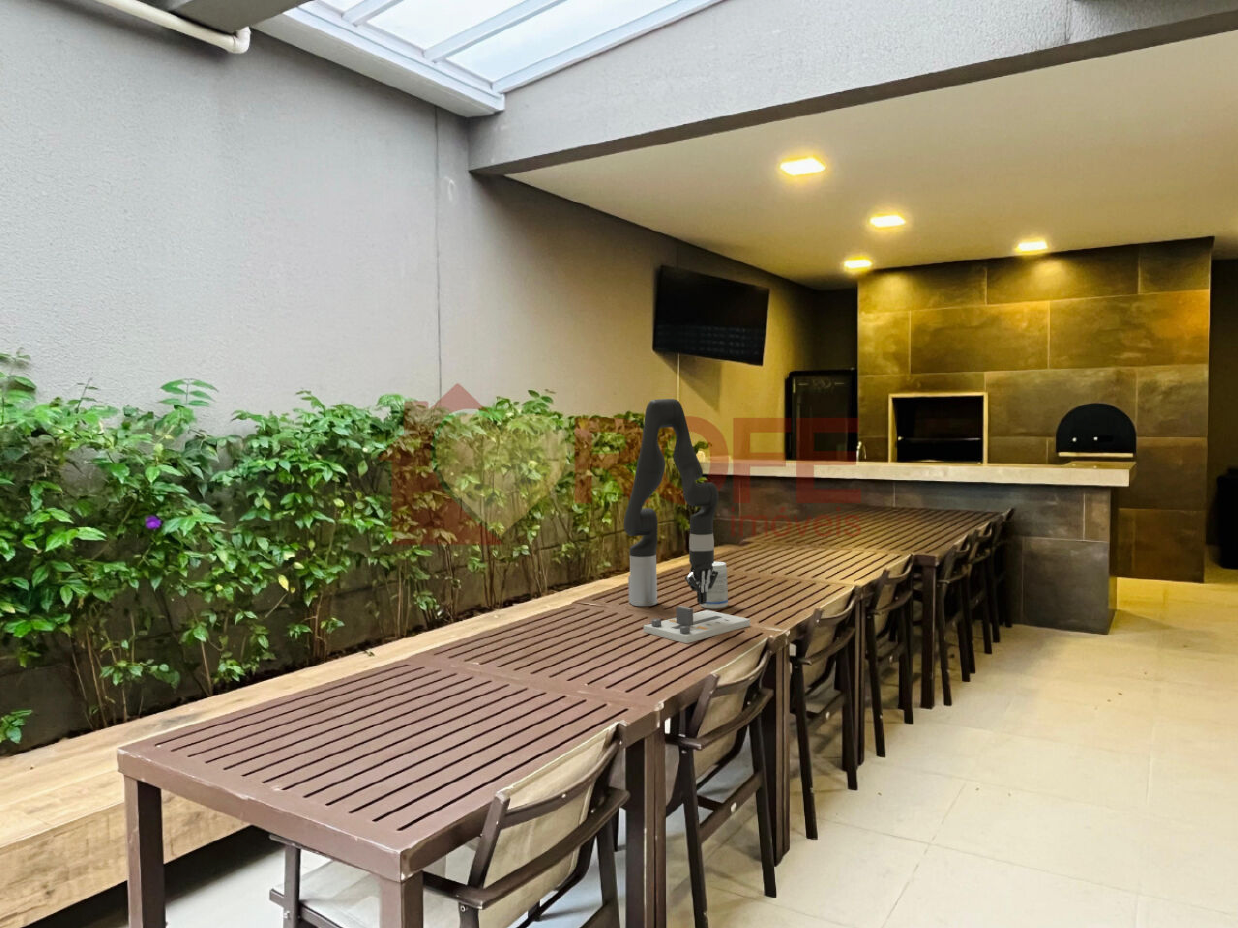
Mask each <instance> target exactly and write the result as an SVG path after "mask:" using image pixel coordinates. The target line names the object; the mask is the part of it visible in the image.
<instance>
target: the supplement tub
mask: <svg viewBox="0 0 1238 928" xmlns="http://www.w3.org/2000/svg"><path fill="white" fill-rule="evenodd" d="M712 566H713V570H714V571H717V572H718V575H717V577H716V580H715V582H714V584H713V586H712V588H711V589H708V591H707V601H706V604H699V605H700V606H701V607H702V608H704V609H710V610H711V609H713V610H717V609H724V608H726V607H727V606H728V605H729V597H728V596H729V595H728V594H729V593H728V588H729V587H728V569H727V563H726V562H725V561H714V563H713V564H712ZM709 583H710V582H709ZM699 588H700V585H699Z"/></svg>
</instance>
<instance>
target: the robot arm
mask: <svg viewBox="0 0 1238 928" xmlns="http://www.w3.org/2000/svg"><path fill="white" fill-rule="evenodd" d="M668 428H672V429H673V431H674V434H675V436H676V442H675V446H674V450H673V461H674V464H675V466H676V469H677V471H678V473H679V475H680V478H681V479H680V480H681V486H682V496H683V499H684V502H685V503H686V504H687V505H688V506H689V507H695V508H696V507H700V510H699V511H698V512H697V513H693V514H692V515H691V516H689V537H688V539H689V541H688V549H689V550H688V552H689V554H688V563H690V565H691V566H690V570H689V571H690V572H689V574H688V575H685V577H684V580H685V582H686V583H687V584H688V586H689V587H690V589H691V590H692V591H694V592H696V602H697V603H698V604H699V605H700V604H706V601H707V591H708V589H711V588H712V586H713V584H714V582H715V580H716V577H717V575H718V572H717V571H714V570H713V566H712V564H713V563H714V562H715V548H714V547H715V544H714V543H715V539H714V517H715V514H716V509H717V504H718V501H719V491H718V488H717V486H716V484H715V483H714V482H696V481H698V480H700V479H701V478H702V476H703V474H704V471H703V468H702V465H701V463H700V461H699V459H698V456H697V454H696V452H695V449H694V446H693V443H692V440H691V435H690V431H689V426H688V424H687V420H686V416H685V412H684V409H683V407H682V404H681V403H680V402H679V401H678V400H677V399H676V398H675V399H673V398H663V399H659V398H657V399H652V400H650V401H649V402H648V404H647V406H646V410H645V414H644V424H643V432H642V440H641V444H640V445H641V447H640V451H639V456H638V460H637V465H636V469H635V475H634V480H633V485H632V491H631V493H630V496H629V497H630V498H629V500H628V504H627V507H626V510H625V514H624V518H623V530H624V532H625V534H626V535H628V536H630V537H641V536H642V538H641V539H640V540H639V541H638V542H636V543H634V544H633V545H630V547H629V550H628V551H629V576H628V577H627V579H628V580H627V581H628V584H627V585H628V587H627V588H628V604H630V605H631V606H635V607H652V606H655V605H657V604H658V587H657V584H658V583H657V548H658V547H657V546H658V515H657V513H656V512H655V510H654V509H653V508H651V507H648V508H647V507H646V508H643V506H644V505H645V502H646V501H647V500H648V499H649V498H650V497H651V496H652V494H653V493H655V491H656V490H657V489H658V488H659V486H660V484H661V483H662V482H663V478H664V473H665V469H666V460H665V457H664V454H663V452H662V450H661V448H660V445H659V441H658V438H659V437H658V436H659V431H660V429H668ZM709 582H710V583H709ZM699 585H700V588H699Z"/></svg>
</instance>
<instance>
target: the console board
mask: <svg viewBox="0 0 1238 928" xmlns="http://www.w3.org/2000/svg"><path fill="white" fill-rule="evenodd" d="M650 622H651V623H649V624H645V625H643V633H645V634H649V635H653V636H657V637H659V638H660V637H661V638H664V639H667V640H672V641H676V642H679V643H684V644H689V643H694V642H696V641H699V640H704V639H707V638H710V637H714V636H719V635H723V634H726V633H729V632H732V631H736V630H739V629H742V628H747V627H750V626H751V619H750V618H745V617H741V616H737V615H734V614H733V615H732V614H728V613H722V612H719V611H718V612H717V611H713V610H710V609H705V610H702V611H701V610H700V611H698V612H693V625H692V626H685V625H681V624H677V617H673V618H670V619H665V620H662V619H661V618H653V619H651V621H650Z"/></svg>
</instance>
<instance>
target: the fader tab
mask: <svg viewBox="0 0 1238 928" xmlns="http://www.w3.org/2000/svg"><path fill="white" fill-rule="evenodd" d="M675 610H676V613H675V615H676V618H677V624H681V625H685V626H692V625H693V613H694V608H691V607H687V606H683V605H679V606H676V609H675Z"/></svg>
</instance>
